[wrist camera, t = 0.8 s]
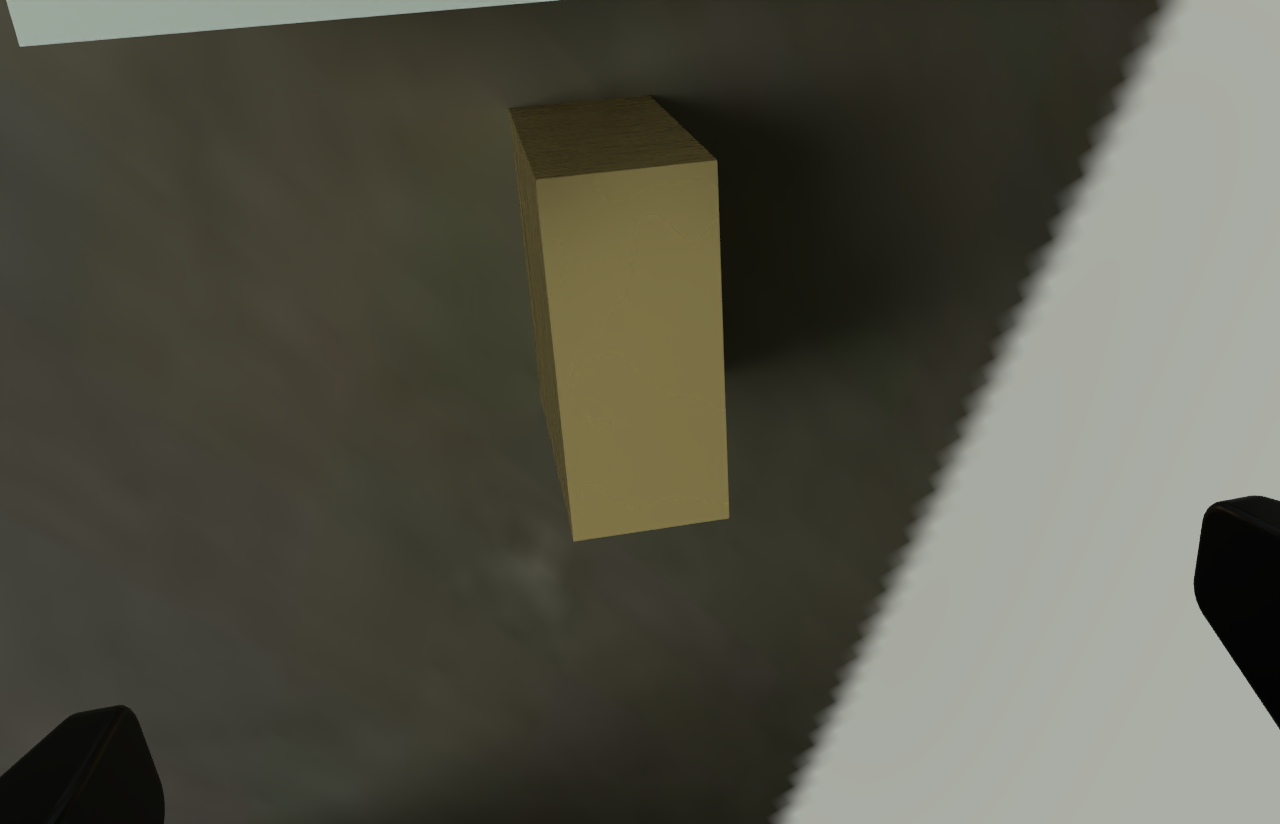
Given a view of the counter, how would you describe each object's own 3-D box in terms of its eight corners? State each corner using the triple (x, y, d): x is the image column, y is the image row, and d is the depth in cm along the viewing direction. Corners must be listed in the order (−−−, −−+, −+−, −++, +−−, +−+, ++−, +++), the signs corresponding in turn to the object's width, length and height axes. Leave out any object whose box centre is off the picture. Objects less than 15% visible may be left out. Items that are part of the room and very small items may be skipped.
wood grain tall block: (665, 386, 22) (729, 518, 17) (541, 401, 21) (573, 541, 17) (648, 94, 19) (716, 160, 15) (508, 107, 19) (534, 180, 14)
